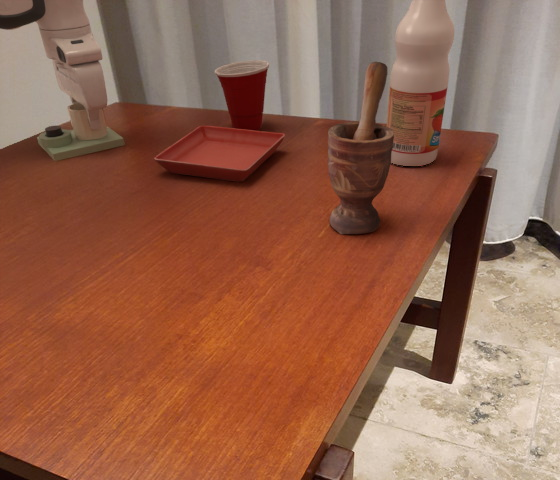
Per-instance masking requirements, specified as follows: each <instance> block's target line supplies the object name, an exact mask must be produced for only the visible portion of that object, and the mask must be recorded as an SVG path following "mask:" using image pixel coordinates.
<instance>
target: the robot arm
mask: <svg viewBox="0 0 560 480" xmlns="http://www.w3.org/2000/svg"><path fill="white" fill-rule="evenodd" d="M33 23H36V24H37V26H38V29H39V34H40V36H41V40H42V44H43V48H44V52H45V55H46V58H47V59H49V60H51V62H52V65H53V71H54V75H55V79H56V82H57V85H58V87H59V89H60V90H61V91H62V92H64V93H65V94H67V95H68V96H69V99H70V102H71V104H74V103H77V102H79V103H80V104H81V105H83V106H84V107H85V108H86V111H87V113H88V123H89V126H90V128H91V129H93V130H96V129H100V127H101V126H100V122H99V109H103V110H104V109H106V108H108V93H107V88H106V81H105V76H104V71H103V66H102V64H101V62H100V61H102V60H103V53H102V49H101V47H100V46H99V44H98V43H97V41H96V40H95V37H94V34H93V33H92V27H91V23H90V20H89V17H88V16H87V12H86V10H85V7H84V0H0V30H5V31H13V30H17V29H20V28H22V27H24V26H27V25H30V24H33Z"/></svg>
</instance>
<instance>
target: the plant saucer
mask: <svg viewBox="0 0 560 480" xmlns="http://www.w3.org/2000/svg"><path fill="white" fill-rule="evenodd" d="M285 136H286V134H285V133H281V132H273V131H262V130H259V131H254V130H245V129H235V128H233V127H223V126H215V125H206V124H205V125H204V124H203V125H199V126H197V127H195V129H193V130H192V131H190V132H189V133H187V134H186V135H185V136H183V137H182V138H180V139H179V140H177V141H176V142H174V143H172V144H171V145H170V146H167V148H165V149H164V150H162V151H161V152H160V153H158V154H157V155H155V156H154V157H153V160H154V161H155V162H156V163H157V164H158V165H160V166H161V167H162V168H163V169H165V170H166V171H168V172H169V173H172V174H175V175H176V174H177V175H185V176H192V177H198V178H199V177H200V178H206V179H208V178H209V179H216V180H223V181H230V182H237V183H242V182H244V181H245V180H246V179H248V178H249V177H250V176H251V175H252V174H253V173H254V172H255V171H256V170H257V169H258V168H259V167H260V166H261V165H263V163H264V162H266V160H267V159H269V158H270V157H271V156H273V154H274V153H275V152H276V150H277V149H278V148H279V146H280V145H281V143H282V142H283V140H284V139H285Z"/></svg>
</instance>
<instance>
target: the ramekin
mask: <svg viewBox="0 0 560 480" xmlns="http://www.w3.org/2000/svg"><path fill="white" fill-rule="evenodd" d="M66 109H67V113H68V116H69V121H70V124H71V127H72V130H73V132H74V134H75V137H76V138H77V139H79V140H95V139H99V138H102V137H105V136H106V135H107V134H108V129H107V126H108V124H107V120H106V117H105V111H104V108H103V109H99V122H100V126H101V127H100V129H96V130H93V129H91V128H90V126H89V123H88V113H87V111H86V108H85V107H84V106H83V105H81V104H80V103H79V102H77V103H74V104H72V103H70V104H69V105H68V106H67V108H66Z"/></svg>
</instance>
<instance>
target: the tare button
mask: <svg viewBox="0 0 560 480" xmlns="http://www.w3.org/2000/svg"><path fill="white" fill-rule="evenodd" d="M62 129H63V128H62V126H61V125H50V126H49V125H48V126H47V127H45V128H44V132H46V135H47V137H58V136H61V135H63V133H62Z"/></svg>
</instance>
